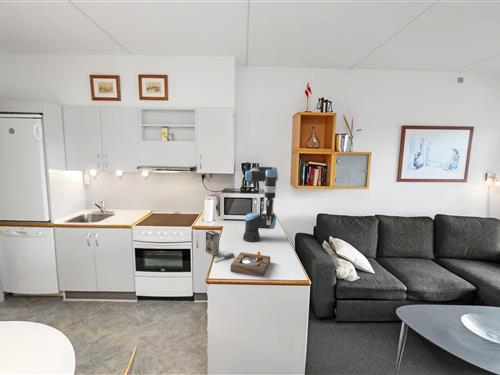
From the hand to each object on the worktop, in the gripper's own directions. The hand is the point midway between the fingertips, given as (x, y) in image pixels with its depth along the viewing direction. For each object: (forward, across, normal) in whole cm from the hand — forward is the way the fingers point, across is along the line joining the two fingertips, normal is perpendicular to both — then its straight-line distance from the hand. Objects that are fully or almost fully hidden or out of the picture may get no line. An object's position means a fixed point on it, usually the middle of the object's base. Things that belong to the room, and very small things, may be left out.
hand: (268, 224), depth 182 cm
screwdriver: (+27, -9, +30) cm, 41 cm away
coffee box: (+27, -2, +42) cm, 50 cm away
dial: (+24, -14, +8) cm, 29 cm away
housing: (+26, -14, +8) cm, 31 cm away
